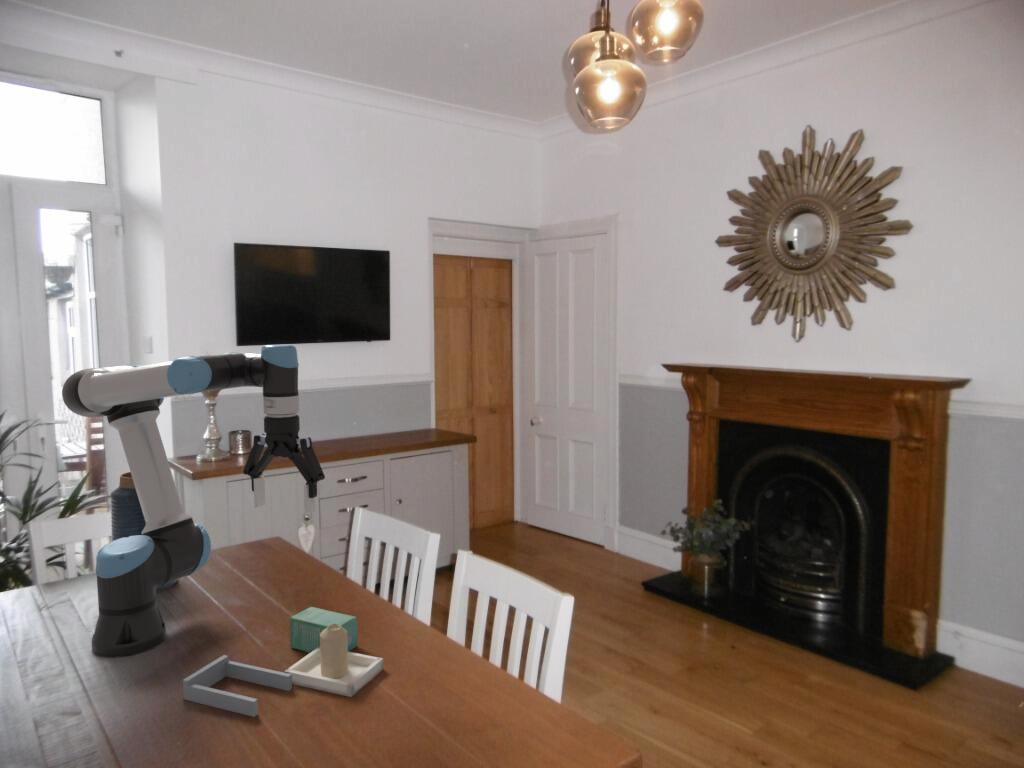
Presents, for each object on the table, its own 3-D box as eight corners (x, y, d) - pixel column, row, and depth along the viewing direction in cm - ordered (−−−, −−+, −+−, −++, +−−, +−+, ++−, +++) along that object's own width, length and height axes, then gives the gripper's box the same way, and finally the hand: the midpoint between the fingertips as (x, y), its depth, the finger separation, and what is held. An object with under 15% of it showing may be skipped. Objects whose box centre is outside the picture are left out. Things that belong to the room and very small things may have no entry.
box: (339, 660, 157) (338, 627, 156) (289, 649, 163) (288, 617, 162) (359, 646, 164) (358, 615, 163) (311, 636, 169) (310, 605, 169)
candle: (323, 666, 153) (322, 621, 152) (349, 665, 153) (348, 620, 152) (318, 679, 148) (317, 632, 147) (346, 678, 148) (344, 631, 147)
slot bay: (183, 699, 141) (182, 679, 141) (224, 673, 152) (223, 654, 151) (254, 717, 135) (253, 696, 135) (292, 688, 145) (291, 669, 145)
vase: (160, 597, 192) (154, 481, 188) (99, 597, 192) (92, 480, 189) (188, 575, 208) (183, 467, 205) (132, 574, 208) (126, 467, 205)
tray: (284, 682, 148) (284, 671, 148) (320, 656, 159) (320, 645, 159) (351, 697, 142) (351, 685, 142) (383, 669, 153) (383, 658, 153)
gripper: (224, 414, 160) (228, 507, 162) (318, 420, 151) (321, 519, 153) (248, 409, 167) (251, 499, 169) (339, 415, 158) (341, 510, 160)
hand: (284, 508), depth 161 cm, fingers open, 13 cm apart
